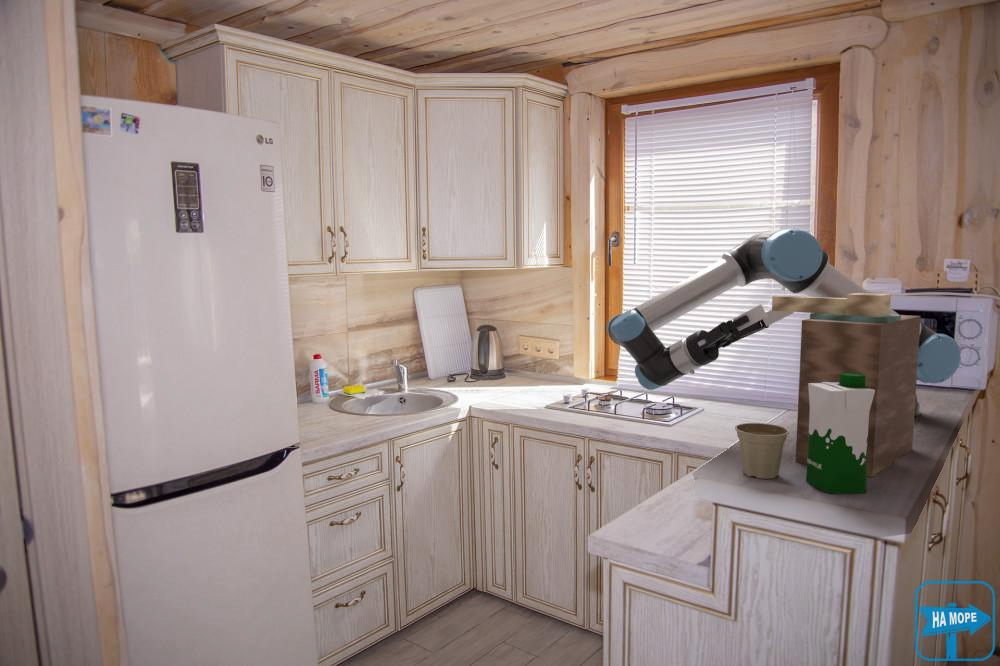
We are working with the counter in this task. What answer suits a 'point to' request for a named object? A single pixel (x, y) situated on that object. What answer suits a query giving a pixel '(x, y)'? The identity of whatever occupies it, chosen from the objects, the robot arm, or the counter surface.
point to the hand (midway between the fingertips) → (777, 308)
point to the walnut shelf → (888, 369)
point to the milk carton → (839, 434)
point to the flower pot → (761, 448)
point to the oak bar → (836, 304)
